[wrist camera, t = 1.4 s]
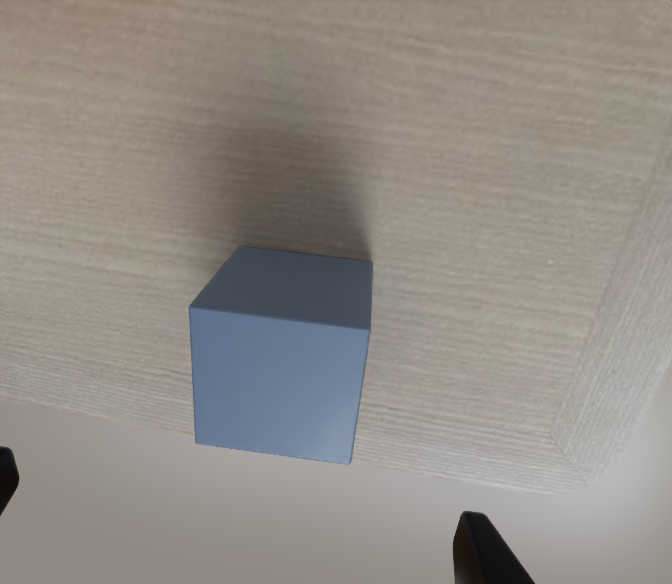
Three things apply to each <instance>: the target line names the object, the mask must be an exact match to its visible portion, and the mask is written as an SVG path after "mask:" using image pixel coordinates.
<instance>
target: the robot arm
mask: <svg viewBox="0 0 672 584" xmlns="http://www.w3.org/2000/svg"><path fill="white" fill-rule="evenodd" d="M18 483H19V473H18V470H17V466H16V463H15V459H14V455H13V452H12V450H11V449H10V448H8V447H3V446H0V516H1V514H2V512H3V511H4V509H5V507H6V506H7V504H8V502H9V501H10V499H11V497H12V495H13V494H14V492H15V491H16V489H17V486H18ZM453 561H454V576H455V584H535V583H534V581H533V580H532V579H531V577H530V576H529V574H528V573H527V572H526V570H525V569H524V567H523V566H522V565H521V564H520V562H519V560H518V559H517V558H516V556H515V555H514V553H513V552H512V551H511V549H510V548H509V546H508V545H507V544H506V542H505V541H504V539H503V538H502V537H501V535H500V534H499V532H498V531H497V530H496V528H495V527H494V525H493V524H492V523H491V521H490V520H489V519H488V517H487V516H486V515H485V514H483V513H478V512H472V511H464V512H463V513H462V514H461V517H460V520H459V523H458V526H457V530H456V533H455V536H454V541H453Z"/></svg>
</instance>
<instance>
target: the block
mask: <svg viewBox="0 0 672 584" xmlns="http://www.w3.org/2000/svg"><path fill="white" fill-rule="evenodd" d="M372 280H373V263H372V262H367V261H359V260H351V259H343V258H334V257H326V256H318V255H310V254H301V253H293V252H285V251H277V250H268V249H260V248H252V247H243V246H240V247H238V248H237V250H236V251H235V252H234V253H233V254H232V256H231V257H230V258H229V259H228V260H227V261H226V263H225V264H224V265H223V266H222V267H221V269H220V270H219V271H218V272H217V273H216V275H215V276H214V277H213V278H212V279H211V280H210V282H209V283H208V284H207V285H206V286H205V288H204V289H203V290H202V291H201V292H200V293H199V295H198V296H197V297H196V298H195V299H194V301H193V302H192V303H191V304H190V306H189V317H190V338H191V359H192V380H193V400H194V421H195V442H196V443H197V444H201V445H209V446H216V447H223V448H231V449H237V450H245V451H252V452H259V453H266V454H274V455H281V456H289V457H296V458H303V459H310V460H317V461H324V462H332V463H339V464H347V465H349V464H350V463H351V460H352V453H353V447H354V440H355V433H356V426H357V419H358V413H359V406H360V399H361V392H362V386H363V379H364V372H365V365H366V359H367V352H368V345H369V338H370V332H371V308H372Z"/></svg>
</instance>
